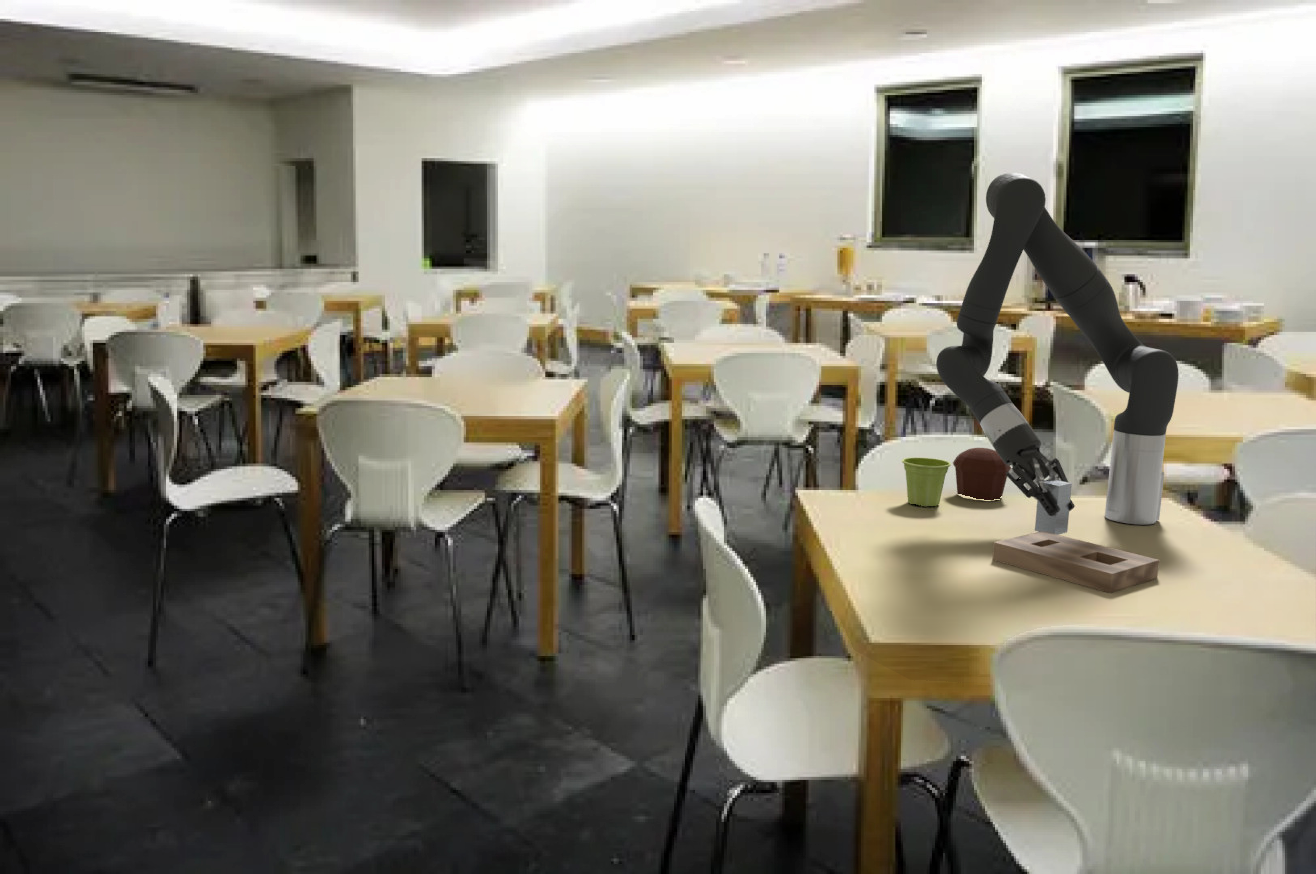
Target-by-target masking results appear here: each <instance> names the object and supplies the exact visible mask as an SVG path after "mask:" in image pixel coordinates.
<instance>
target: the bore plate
mask: <svg viewBox="0 0 1316 874" xmlns="http://www.w3.org/2000/svg"><path fill="white" fill-rule="evenodd" d="M992 550H993V552H992V560H993V561H996V562H998V563H999V562H1000V563H1003V564H1005V565H1006V564H1007V565H1011V566H1014V567H1017V568H1021V569H1023V570H1028V571H1031V572H1035V573H1038V574H1042V575H1045V576H1049V577H1052V578H1056V579H1059V580H1063V581H1067V582H1070V583H1074V584H1077V585H1080V586H1084V587H1087V588H1091V589H1095V590H1097V591H1098V590H1099V591H1102V592H1106V593H1109V594H1111V593H1113V592H1114V593H1115V592H1117V591H1121V590H1124V589H1127V588H1130V587H1133V586H1137V585H1140V584H1144V583H1146V582H1149V581H1152V580H1156V579H1158V574H1159V567H1160V566H1159V565H1160V559H1158V558H1157V559H1156V558H1154V557H1153V558H1152V557H1149V556H1146V555H1141V554H1138V553H1137V554H1136V553H1133V552H1130V551H1129V552H1128V551H1125V550H1121V549H1116V548H1113V547H1109V546H1105V545H1100V544H1097V543H1093V542H1089V541H1086V540H1085V541H1084V540H1080V539H1078V538H1072V537H1069V536H1065V535H1062V534H1059V535H1057V534H1053V533H1049V532H1045V531H1040V532H1038V531H1035V532H1032V533H1029V534H1023V535H1020V536H1014V537H1011V538H1006V539H1002V540H997V541H993V549H992Z"/></svg>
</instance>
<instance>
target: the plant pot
mask: <svg viewBox="0 0 1316 874" xmlns="http://www.w3.org/2000/svg"><path fill="white" fill-rule="evenodd" d="M901 462H902V463H903V468H904V471H905V479H906V492H907V493H906V495H907V496H906V497H907V503H908V502H909V503H910V505H911V504H916V505H918V506H920V505H921V506H920V507H922V506H935V507H937V506H939V505H940V502H941V499H942V498H941V497H942V493H943V489H944V485H945V484H944V483H945V479H946V475H947V473H948V471H949V467H951V465H952V463H951V462H950V461H948V460H944V459H939V458H932V457H905V458H903V459H902V460H901ZM909 503H908V504H909ZM938 504H939V505H938Z"/></svg>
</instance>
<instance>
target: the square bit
mask: <svg viewBox="0 0 1316 874" xmlns="http://www.w3.org/2000/svg"><path fill="white" fill-rule="evenodd" d="M1044 480H1045V479H1044ZM1043 484H1044V485H1045V487H1046V488H1047V491H1048V492H1047V493H1050V495H1051V496H1052V498H1053V499H1054V501H1055V502H1056V504H1057V505H1058V506H1059V508H1060V511H1059V512H1058V513H1056V514H1055V515H1054V516H1049V515H1048V513H1047V512H1046V511H1045V509H1044V508H1043V506H1042V505H1041V503H1040V502H1039V500H1036V512H1035V523H1034V524H1035V526H1034V531H1035V532H1040V531H1045V532H1049V533H1053V534H1057V535H1062V534H1067V533H1068V526H1069V518H1070V511H1069V506H1070V499H1071V498H1072V497H1071V496H1072V486H1073V485H1072V484H1073V483H1072V482H1069V481H1068V482H1063V481H1061V480H1060V481H1058V480H1052V479H1050V480H1047V479H1046V480H1045V481H1044V482H1043Z"/></svg>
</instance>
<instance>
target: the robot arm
mask: <svg viewBox="0 0 1316 874" xmlns="http://www.w3.org/2000/svg"><path fill="white" fill-rule="evenodd" d="M1046 199H1047V198H1046V193H1045V190H1044V189H1043V186H1042V185H1041V184H1040V182H1038V181H1037V180H1035V179H1034V178H1032V177H1029V176H1028V175H1025V174H1022V173H1019V172H1007V173H1003V174H1000V175H998V176H997V177H995V178H994V179H993V180H992V181H991V182H990V184H989V186H988V187H987V190H986V193H985V203H986V207H987V211H988V213H989V214H990V216H991V217H992V218H993V224H992V231H991V235H990V239H989V242H988V245H987V247H986V250H985V253H984V254H983V257H982V259H981V261H980V263H979V265H978V266H977V268H976V270H975V272H974V274H973V276H972V278H971V279H970V281H969V284H968V286H967V288H966V291H965V294H964V297H963V300H962V303H961V305H960V306H961V307H960V309H959V313H958V316H957V318H956V319H957V320H956V327H957V329H958V330H959V331H960V332H962V334H963V335H962V343H961V345H949V346H946V347H944V348H943V349H941V351H940V352H939V353H938V355H937V357H936V362H935V363H936V364H935V365H936V371H937V373H938V375H939V378H940V380H941V381H942V382H943V383H944V385H945V386H946V387H947V388H948V389H949V390H950V391H951V392H952V393H954V395H955V396H956V397H957V399H959V400H960V401H961V402H963V403H964V404H965V405H966V406H967V407H968V408H969V410H970V411H971V413H972V414H973V416H974V418H975V419H976V420H977V422H978V424H979V425H980V427H981V429H982V431H983V432H984V435H985V436H986V438H987V440H988V442H989V443H990V444H991V445H992V447H993V448H994V449H993V450H995V451H996V452H997V453H998V455H999V456H1000V458H1001V459H1002V461H1003V462H1004V463H1005V464H1006V465H1010V466H1011V469H1010V470H1009V471H1008V472H1007V473H1006V475H1007V479H1009V480H1010V481H1011V482H1012V483H1013V484H1014V485H1015V486H1016V487H1017V488H1018V489H1019V491H1021V492H1022V494H1024V495H1025V497H1027V498H1028V499H1030V498H1032V497H1033V498H1034V499H1035V500H1036V501H1037V500H1039V502H1040V503H1041V505H1042V506H1043V508H1044V509H1045V511H1046V512H1047V513H1048V515H1049V516H1054V515H1055V514H1056V513H1058V512H1059V511H1060V508H1059V506H1058V505H1057V504H1056V502H1055V501H1054V499H1053V498H1052V496H1051V495H1050V493H1047V492H1048V491H1047V488H1046V487H1045V485H1044V484H1043V482H1044V481H1045V479H1046V480H1050V479H1052V480H1058V481H1063V482H1068V483H1069V480H1068V478H1067V476H1066V473H1065V471H1064V469H1063V467H1062V465H1061V463H1060V460H1059V459H1058V458H1057V457H1054V458H1053V459H1048V458H1047V457H1046V456H1045V455H1044V454H1043V453H1042V452H1041V451H1040V450H1041V449H1040V448H1041V446H1042V441H1041V439H1040V438H1039V436H1038V435H1037V434H1036V433H1035V431H1034V430H1033V428H1032V426H1031V425H1030V423H1029V422H1028V421H1027V419H1026V418H1025V417H1024V415H1023V414H1022V412H1021V411H1020V410H1019V409H1018V408H1017V407H1016V406H1015V404H1014V403H1013V402H1012V400H1011V399H1010V397H1009V396H1008V394H1007V393H1006V391H1005V390H1004V389H1003V387H1002V386H1001V384H999V383H997V382H996V381H993V380H991V379H987V378H986V377H985V375H986V374H987V372H988V370H989V369H990V366H991V363H992V357H993V356H992V355H993V346H994V330H995V328H996V325H997V321H998V319H999V316H1000V314H1001V310H1002V306H1003V303H1004V302H1005V301H1004V300H1005V298H1006V294H1007V292H1008V289H1009V286H1010V282H1011V280H1012V279H1013V278H1012V277H1013V275H1014V273H1015V270H1016V268H1017V265H1018V262H1019V261H1020V258H1021V256H1022V253H1023V252H1025V254H1026V256H1027V257H1028V259H1029V260H1030V263H1031V264H1032V265H1033V268H1034V269H1035V271H1036V272H1037V274H1038V276H1040V279H1041V280H1042V281H1043V283H1044V284H1045V286H1046V287H1047V288H1048V291H1049V292H1050V293H1051V295H1052V296H1053V298H1054V299H1055V300H1056V301H1057V303H1058V304H1059V305H1060V307H1061V308H1062V309H1063V310H1064V312H1065V313H1066V314H1067V316H1069V318H1071V320H1072V322H1073V323H1074V324H1075V325H1076V327H1077V328H1078V329H1079V330H1080V332H1081V333H1082V334H1083V336H1085V338H1086V339H1087V340H1088V341H1089V342H1090V344H1091V345H1092V347H1093V348H1094V351H1095V352H1096V353H1097V354H1098V356H1099V358H1100V360H1101V361H1102V362H1103V364H1104V366H1105V368H1106V369H1107V372H1108V374H1109V375H1110V377H1111V379H1112V380H1113V381H1114V383H1115V384H1116V385H1117V386H1118V387H1119V388H1120V389H1121V390H1123V391H1124V392H1125V393H1128V400H1127V405H1126V408H1125V409H1124V411H1122V412H1120V413H1118V414H1117V415H1116V416H1115V418H1114V424H1113V434H1112V443H1111V453H1110V460H1109V461H1110V462H1109V473H1108V483H1107V491H1106V493H1107V494H1106V501H1105V509H1104V511H1105V512H1104V518H1106V519H1108V520H1110V521H1114V522H1118V523H1124V524H1131V525H1139V526H1140V525H1153V524H1156V523H1157V521H1160V516H1161V515H1160V514H1161V509H1162V508H1161V507H1162V498H1163V488H1164V479H1165V472H1164V471H1163V464H1164V463H1163V461H1164V454H1165V446H1166V445H1165V444H1166V437H1167V435H1166V434H1167V428H1168V425H1169V423H1170V421H1171V420H1172V418H1173V415H1174V414H1173V413H1174V409H1175V405H1176V397H1177V390H1178V384H1179V366H1178V362H1177V361H1176V359H1175V357H1174V356H1173V355H1172V354H1171V353H1170V352H1168V351H1166V350H1163V349H1159V348H1153V347H1147V346H1146V345H1144V343H1142V342H1141V341H1140V340H1139V339H1138V338H1137V337H1136V335H1134V334H1133V332H1132V331H1131V330H1130V328H1129V327H1128V326H1127V325H1126V323H1125V322H1124V320H1123V318H1122V315H1121V312H1120V309H1119V305H1118V301H1117V298H1116V293H1115V291H1114V289H1113V286H1112V284H1111V283H1110V281H1109V280H1108V278H1107V277H1106V276H1105V275H1104V274H1103V272H1102V271H1101V269H1100V268H1099V267H1098V265H1097V264H1096V263H1095V262H1094V260H1093V259H1092V258H1091V257H1090V256H1089V255H1088V253H1087V252H1085V251H1084V249H1083V248H1082V247H1080V245H1078V244H1077V243H1076V242H1075V240H1073V239H1072V238H1071V237H1070V236H1069V235H1068V234H1066V232H1064V231H1063V230H1062V229H1061V228H1060V226H1059V225H1058V224H1057V222H1055V220H1054V219H1053V218H1052V215H1051V214H1050V213H1049V211H1048V209H1047V208H1046V207H1045V206H1046V201H1047V200H1046ZM1075 507H1076V506H1075V503H1074V502H1073V500H1072V499H1071V498H1070V506H1069V512H1071V511H1072V510H1074V508H1075Z"/></svg>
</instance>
